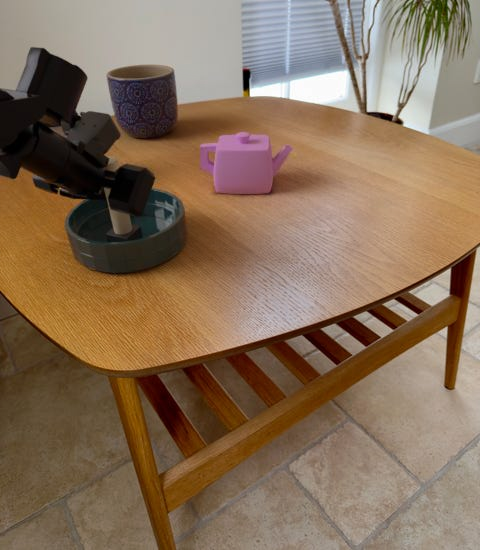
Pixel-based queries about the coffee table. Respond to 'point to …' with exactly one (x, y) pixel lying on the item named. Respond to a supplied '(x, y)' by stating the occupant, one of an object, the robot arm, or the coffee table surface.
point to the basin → (130, 254)
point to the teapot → (242, 163)
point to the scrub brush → (120, 216)
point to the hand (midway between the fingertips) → (127, 200)
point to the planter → (144, 99)
